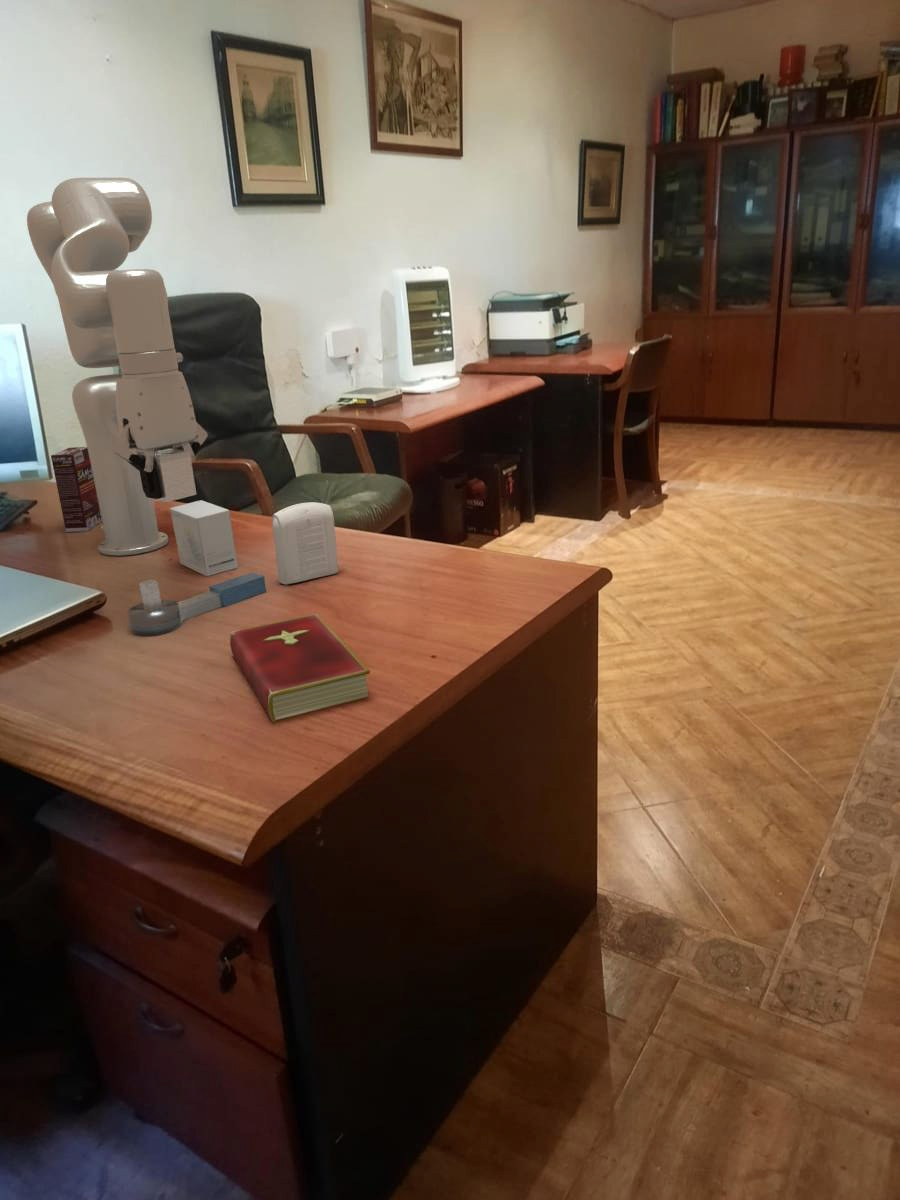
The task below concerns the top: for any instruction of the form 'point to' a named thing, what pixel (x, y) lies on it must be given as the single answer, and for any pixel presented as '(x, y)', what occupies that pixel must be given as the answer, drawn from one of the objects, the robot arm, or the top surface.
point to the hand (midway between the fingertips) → (170, 492)
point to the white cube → (174, 474)
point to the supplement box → (76, 489)
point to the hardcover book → (298, 666)
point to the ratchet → (187, 604)
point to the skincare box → (204, 537)
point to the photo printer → (304, 542)
